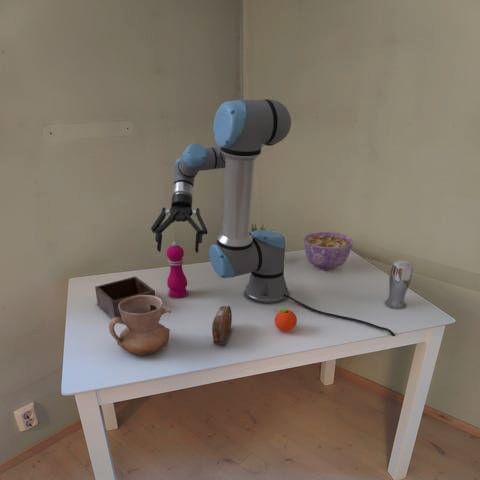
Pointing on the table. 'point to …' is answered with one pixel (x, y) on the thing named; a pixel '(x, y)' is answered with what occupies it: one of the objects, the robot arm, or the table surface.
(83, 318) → the table surface
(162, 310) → the ceramic jug
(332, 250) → the bowl of food
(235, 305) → the table surface
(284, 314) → the clementine
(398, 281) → the beer glass
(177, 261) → the pepper mill
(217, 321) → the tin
